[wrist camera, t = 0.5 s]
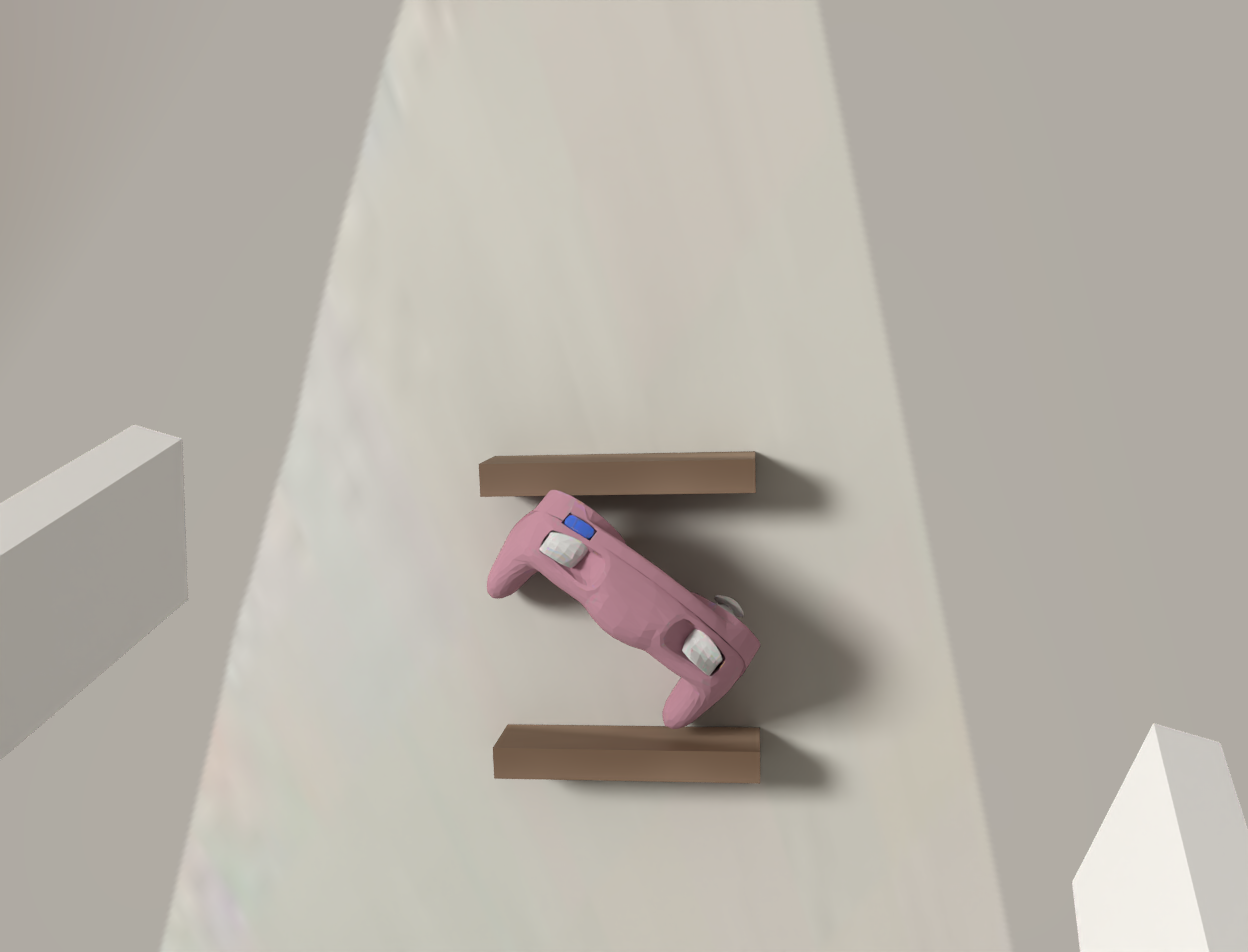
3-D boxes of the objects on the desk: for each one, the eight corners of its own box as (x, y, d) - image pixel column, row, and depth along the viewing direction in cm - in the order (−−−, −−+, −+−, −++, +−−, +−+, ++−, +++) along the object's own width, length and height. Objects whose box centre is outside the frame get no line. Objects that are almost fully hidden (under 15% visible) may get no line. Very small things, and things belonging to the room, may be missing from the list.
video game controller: (741, 643, 44) (797, 626, 37) (677, 739, 43) (723, 739, 36) (542, 496, 44) (562, 452, 37) (472, 587, 43) (480, 559, 36)
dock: (760, 757, 43) (760, 783, 40) (509, 753, 44) (494, 778, 42) (755, 451, 41) (755, 459, 39) (494, 456, 43) (478, 464, 40)
